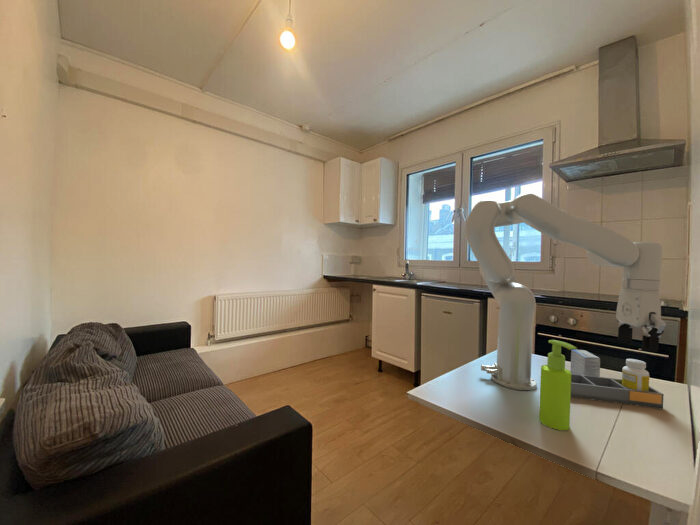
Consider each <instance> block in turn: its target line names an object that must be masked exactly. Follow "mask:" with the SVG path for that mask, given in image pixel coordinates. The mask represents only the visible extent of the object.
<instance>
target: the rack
mask: <svg viewBox="0 0 700 525" xmlns="http://www.w3.org/2000/svg"><path fill="white" fill-rule="evenodd" d="M575 397H577V398H576V399H583V398H584V399H583V400H590V399H594V400H593V401H598V400H601V401H600V402H606V401H607V402H608V403H613V402H617V403H616V404H621V403H623V405H629V404H632V405H631V406H636V405H638V407H644V406H645V408H652V409H658V410H659V409H660V410H663V409H664V393H662V392H660V391H658V390H657V389H656V388H653V387H652V386H650V385H649V392H647V391H639V390H631V389H627V388H626V387H624V386H622V378H614V377H612V378H611V377H605V376H600V377H596V376H587V375H579V374H571V398H575ZM607 402H606V403H607Z"/></svg>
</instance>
